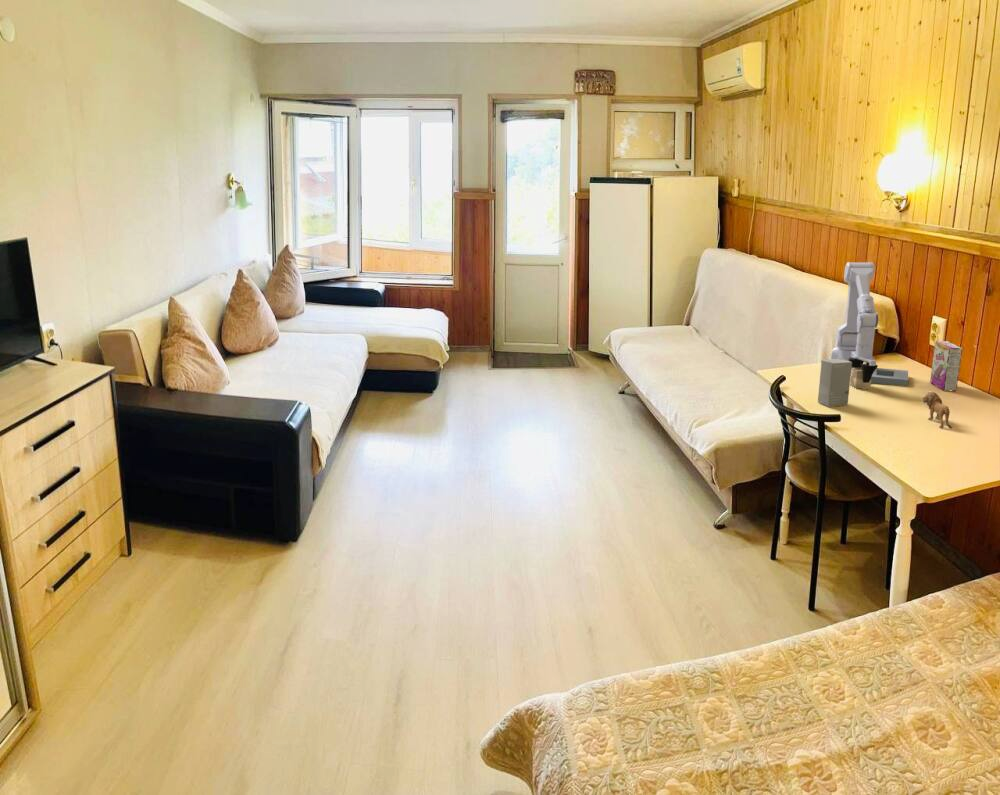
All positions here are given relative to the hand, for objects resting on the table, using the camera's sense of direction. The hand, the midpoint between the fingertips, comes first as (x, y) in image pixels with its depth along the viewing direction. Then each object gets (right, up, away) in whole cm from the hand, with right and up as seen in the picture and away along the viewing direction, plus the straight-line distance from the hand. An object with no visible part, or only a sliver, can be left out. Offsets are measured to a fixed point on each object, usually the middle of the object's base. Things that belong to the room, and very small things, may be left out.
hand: (860, 379), depth 312 cm
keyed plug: (0, -3, +1) cm, 3 cm away
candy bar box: (+30, -3, -2) cm, 30 cm away
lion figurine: (+8, -15, -39) cm, 42 cm away
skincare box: (-18, -9, -18) cm, 27 cm away
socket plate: (+13, 0, +10) cm, 16 cm away
